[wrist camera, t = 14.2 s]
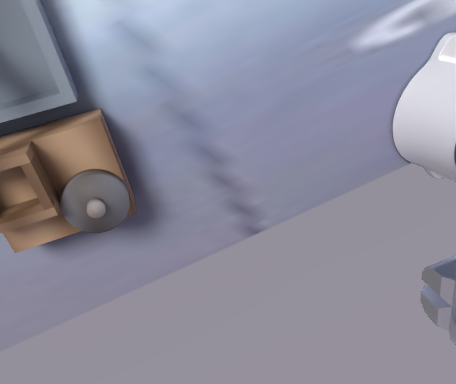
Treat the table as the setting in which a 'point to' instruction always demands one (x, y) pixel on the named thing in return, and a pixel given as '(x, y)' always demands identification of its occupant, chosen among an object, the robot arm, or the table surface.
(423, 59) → the table surface
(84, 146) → the wooden holder block
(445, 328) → the robot arm
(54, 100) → the tray
